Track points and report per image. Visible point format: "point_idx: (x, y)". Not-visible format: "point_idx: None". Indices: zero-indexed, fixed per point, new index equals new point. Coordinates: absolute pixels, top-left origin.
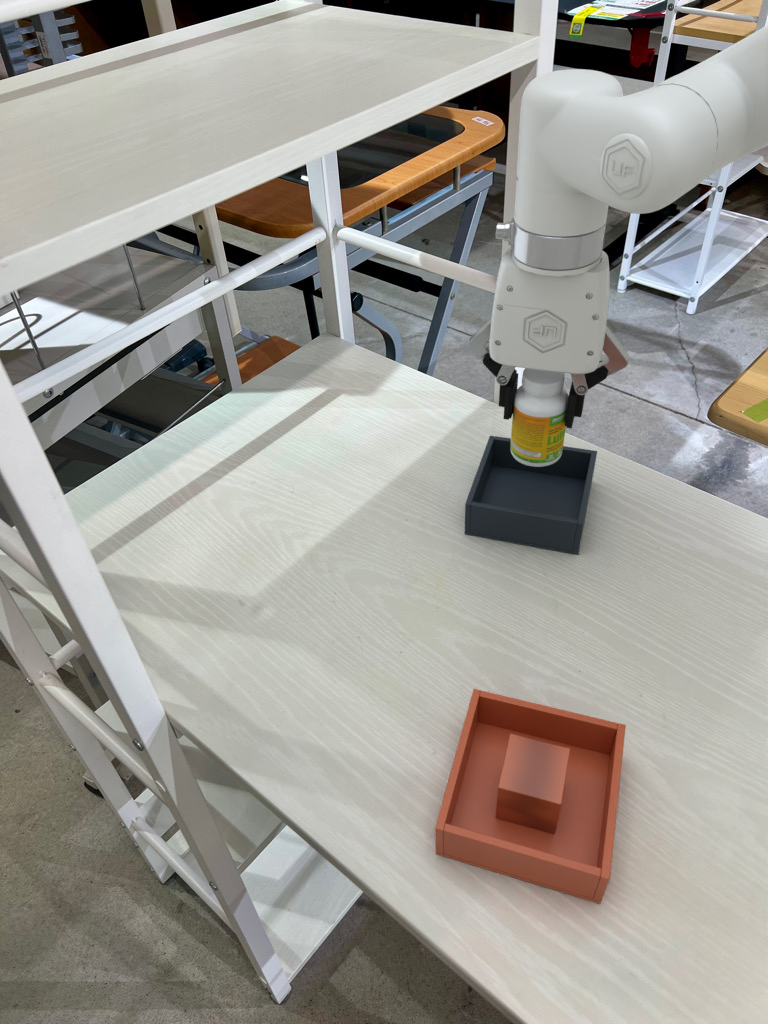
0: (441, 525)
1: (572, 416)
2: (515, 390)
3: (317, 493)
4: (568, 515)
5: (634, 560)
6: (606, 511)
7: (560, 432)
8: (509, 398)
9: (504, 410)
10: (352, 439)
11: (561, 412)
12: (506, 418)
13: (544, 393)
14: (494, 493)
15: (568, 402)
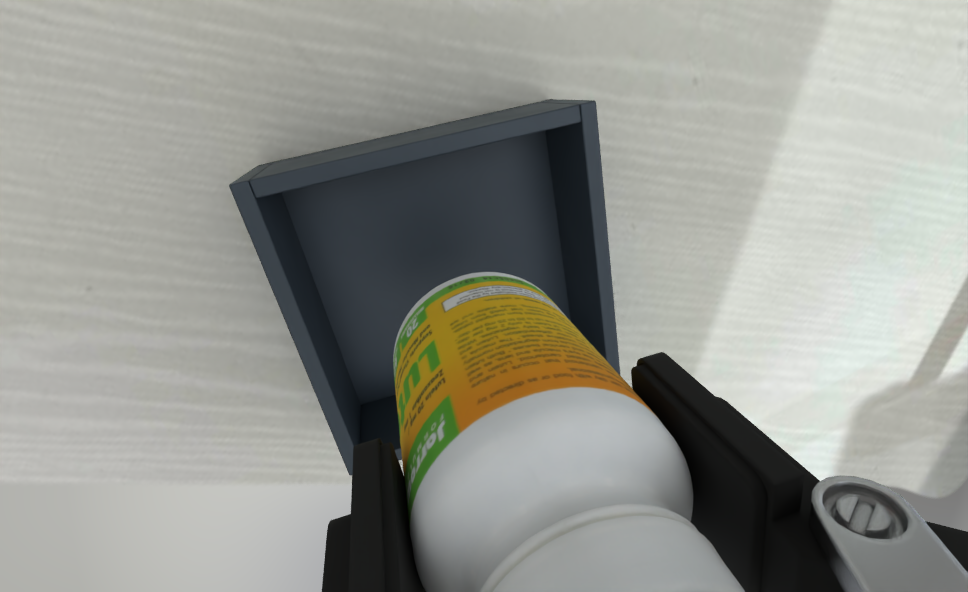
0: (612, 103)
1: (355, 496)
2: (696, 503)
3: (907, 69)
4: (344, 279)
5: (116, 218)
6: (274, 342)
7: (404, 414)
8: (719, 430)
9: (688, 375)
10: (868, 272)
11: (419, 490)
12: (651, 356)
13: (558, 548)
14: (536, 261)
15: (392, 564)
